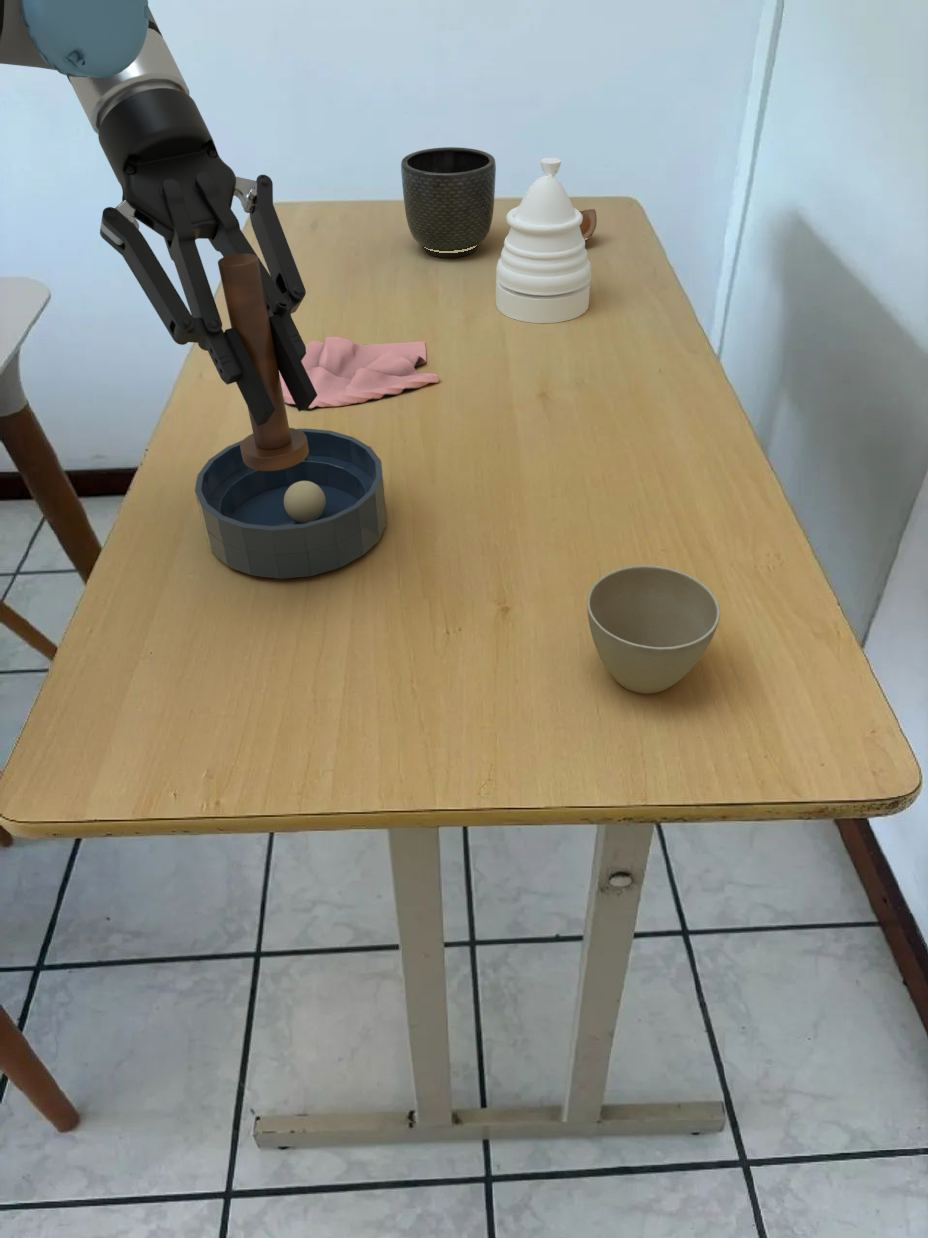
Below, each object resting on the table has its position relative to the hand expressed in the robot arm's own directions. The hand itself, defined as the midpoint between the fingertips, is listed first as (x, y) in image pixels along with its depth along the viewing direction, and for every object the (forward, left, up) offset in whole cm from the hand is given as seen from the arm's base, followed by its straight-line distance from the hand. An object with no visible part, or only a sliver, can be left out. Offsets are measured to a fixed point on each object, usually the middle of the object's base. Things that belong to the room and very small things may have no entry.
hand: (287, 409), depth 70 cm
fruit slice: (+39, +84, -20) cm, 95 cm away
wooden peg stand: (-2, +3, -5) cm, 6 cm away
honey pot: (+31, +62, -20) cm, 72 cm away
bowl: (-2, +13, -20) cm, 24 cm away
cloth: (+5, +45, -20) cm, 50 cm away
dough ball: (-1, +14, -17) cm, 22 cm away
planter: (+21, +85, -20) cm, 90 cm away
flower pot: (+26, -11, -20) cm, 35 cm away
